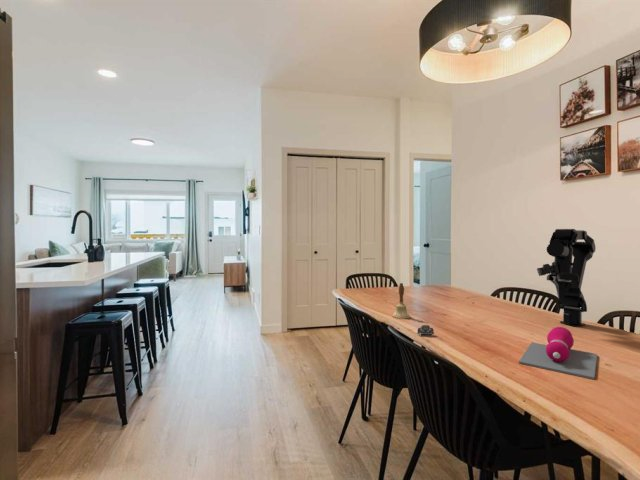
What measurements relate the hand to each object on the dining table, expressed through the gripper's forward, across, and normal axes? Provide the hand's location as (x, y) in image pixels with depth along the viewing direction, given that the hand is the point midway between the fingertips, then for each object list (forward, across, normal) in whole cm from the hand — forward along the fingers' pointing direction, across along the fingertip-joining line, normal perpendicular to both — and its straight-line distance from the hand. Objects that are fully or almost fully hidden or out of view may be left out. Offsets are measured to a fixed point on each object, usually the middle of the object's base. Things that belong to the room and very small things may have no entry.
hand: (560, 299), depth 134 cm
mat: (+19, +30, -7) cm, 36 cm away
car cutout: (+21, +16, -44) cm, 51 cm away
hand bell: (+18, -8, -61) cm, 64 cm away
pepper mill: (+12, +19, -4) cm, 23 cm away
